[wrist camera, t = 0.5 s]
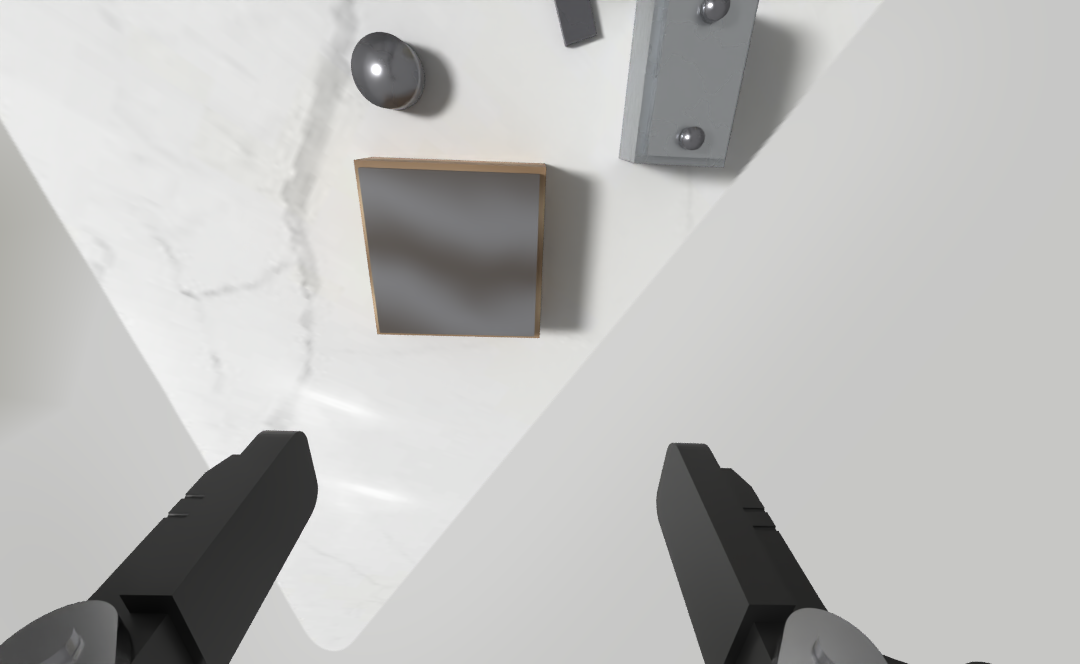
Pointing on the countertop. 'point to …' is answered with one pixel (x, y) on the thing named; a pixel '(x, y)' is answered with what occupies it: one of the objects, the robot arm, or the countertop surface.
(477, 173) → the stand
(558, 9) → the bar
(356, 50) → the dark grey domed cap
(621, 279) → the countertop surface
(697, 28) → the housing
